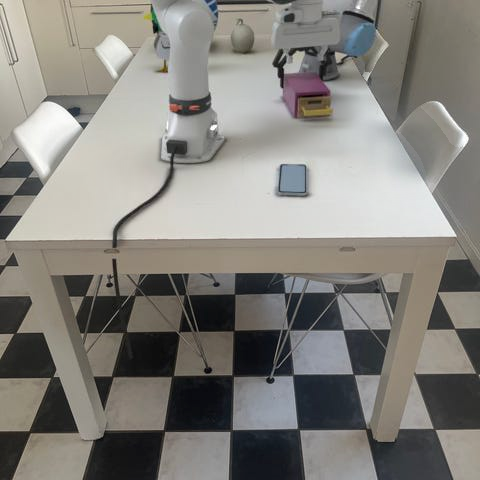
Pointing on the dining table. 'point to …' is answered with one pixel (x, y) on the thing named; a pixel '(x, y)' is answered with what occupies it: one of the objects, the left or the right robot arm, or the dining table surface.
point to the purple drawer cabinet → (302, 88)
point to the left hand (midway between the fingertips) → (304, 61)
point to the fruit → (242, 37)
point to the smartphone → (292, 179)
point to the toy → (160, 41)
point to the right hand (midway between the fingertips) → (301, 86)
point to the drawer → (314, 106)
